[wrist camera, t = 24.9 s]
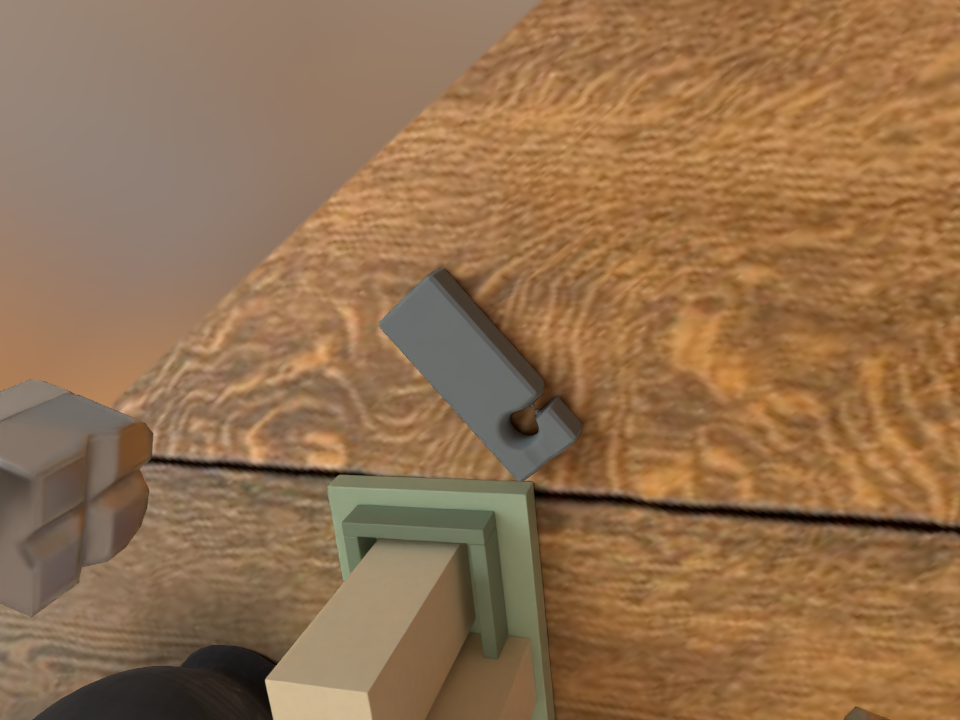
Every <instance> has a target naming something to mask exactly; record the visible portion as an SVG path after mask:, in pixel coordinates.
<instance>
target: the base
mask: <svg viewBox="0 0 960 720" xmlns="http://www.w3.org/2000/svg"><path fill="white" fill-rule="evenodd" d="M327 491H328V497H329V502H330V508H331V514H332V520H333V526H334V531H335V537H336V543H337V549H338V554H339V560H340V566H341V572H342V577H343V582H344V581H345V580H346V579H347V577H348V576H349V575H350V574H351V573H352V571H353V570H354V569H355V568H356V566H357V565H358V564H359V563H360V561H361V560H362V559H363V558H364V556H365V555H366V554H367V553H368V552H369V550H370V549H371V548H372V547H373V545H374V544H375V543H376V542H377V540H378V539H379V538H388V539H403V540H419V541H435V542H451V543H467V549H468V558H469V566H470V575H471V583H472V591H473V600H474V608H475V616H476V619H475V621H474V623H473V625H472V627H471V629H470V631H469V633H468V635H467V637H466V639H465V641H464V643H463V645H462V647H461V649H460V651H459V653H458V655H457V657H456V659H455V661H454V663H453V665H452V667H451V669H450V671H449V673H448V675H447V677H446V679H445V681H444V683H443V685H442V687H441V689H440V691H439V693H438V695H437V697H436V699H435V701H434V703H433V705H432V707H431V709H430V711H429V713H428V715H427V717H426V719H425V720H555V712H554V701H553V690H552V680H551V669H550V658H549V648H548V637H547V626H546V616H545V605H544V594H543V583H542V573H541V562H540V551H539V541H538V530H537V519H536V509H535V498H534V487H533V482H519V481H493V480H466V479H439V478H412V477H385V476H358V475H338V476H337V477H336V478H335V479H334V480H333V481H332V482H331V483H330V484H329V485H328V486H327Z"/></svg>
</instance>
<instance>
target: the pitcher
mask: <svg viewBox="0 0 960 720" xmlns="http://www.w3.org/2000/svg"><path fill="white" fill-rule="evenodd" d="M274 668H275V666H274V665H273V664H272V663H271V662H269V661H268V660H266V659H265V658H263V657H262V656H260V655H259V654H256V653H254V652H251V651H249V650H246V649H243V648H239V647H235V646H226V645H211V646H208V647H205V648H201V649H199V650H198V651H196V652H194V653H193V654H191V655H190V656H189V657H188V659H187V660H186V661H185V662H184V663H183V665H182V666H181V667H174V666H153V667H143V668H137V669H132V670H128V671H124V672H121V673H117V674H114V675H111V676H107V677H105V678H103V679H100V680H98V681H96V682H93V683H91V684H89V685H86V686H84V687H82V688H80V689H78V690H76V691H75V692H73V693H71V694H69V695H67V696H65V697H64V698H62V699H60V700H59V701H57V702H55V703H54V704H53V705H51V706H50V707H49V708H47V709H46V710H45V711H43V712H42V713H40V714H39V715H38V716H36V717H35V718H34V719H33V720H273V716H272V711H271V706H270V702H269V697H268V692H267V687H266V683H265V679H266V678H267V676H268V675H269V674H270V673H271V671H272V670H273V669H274Z"/></svg>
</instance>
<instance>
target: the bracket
mask: <svg viewBox="0 0 960 720" xmlns="http://www.w3.org/2000/svg"><path fill="white" fill-rule="evenodd" d="M379 327H380V328H381V329H382V330H383V331H384V333H385V334H386V335H387V336H388V337H389V338H390V339H391V340H392V341H393V343H394V344H395V345H396V346H397V347H398V348H399V349H400V350H401V351H402V353H403V354H404V355H405V356H406V357H407V358H408V359H409V360H410V362H411V363H412V364H413V365H414V366H415V367H416V368H417V369H418V370H419V372H420V373H421V374H422V375H423V376H424V377H425V378H426V379H427V381H428V382H429V383H430V384H431V385H432V386H433V387H434V388H435V389H436V391H437V392H438V393H439V394H440V395H441V396H442V397H443V398H444V399H445V401H446V402H447V403H448V404H449V405H450V406H451V407H452V408H453V410H454V411H455V412H456V413H457V414H458V415H459V416H460V417H461V418H462V420H463V421H464V422H465V423H466V424H467V425H468V426H469V427H470V428H471V430H472V431H473V432H474V433H475V434H476V435H477V436H478V437H479V439H480V440H481V441H482V442H483V443H484V444H485V445H486V446H487V447H488V449H489V450H490V451H491V452H492V453H493V454H494V455H495V456H496V458H497V459H498V460H499V461H500V462H501V463H502V464H503V465H504V466H505V468H506V469H507V470H508V471H509V472H510V473H511V474H512V475H513V476H514V478H515V479H516V480H517V481H521V482H523V481H525V480H526V479H527V478H529V477H530V476H531V475H533V474H534V473H535V472H537V471H538V470H539V469H540V468H541V467H542V466H544V465H545V464H546V463H547V462H548V461H550V460H551V459H552V458H554V457H556V456H557V455H559V454H561V453H562V452H563V451H565V450H566V449H567V448H569V447H570V446H571V445H573V444H574V443H575V442H576V441H577V439H578V437H579V436H580V433H581V431H582V423H581V422H580V421H579V420H578V418H577V417H576V416H575V415H574V414H573V413H572V412H571V411H570V409H569V408H568V407H567V406H566V405H565V404H564V403H563V402H562V400H561V399H560V398H559V397H558V396H557V397H555V398H553V399H552V400H551V401H550V402H548V403H547V404H546V405H545V406H544V407H543V408H542V409H541V410H539V409H536V410H535V414H536V417H535V420H536V422H537V423H538V426H539V431H538V433H537V434H535V435H531V436H529V435H524V434H521V433H520V432H518V431H517V430H516V429H515V428H514V427H513V426H512V424H511V421H510V415H511V414H512V413H513V412H517V411H521V410H523V409H525V408H526V407H528V406H529V407H531V408H532V407H534V403H533V402H534V401H535V400H536V399H538V398H539V397H540V396H541V395H542V394H543V392H544V380H543V379H542V378H541V377H540V376H539V375H538V373H537V372H536V371H535V370H534V369H533V368H532V367H531V366H530V364H529V363H528V362H527V361H526V360H525V359H524V358H523V357H522V355H521V354H520V353H519V352H518V351H517V350H516V349H515V348H514V346H513V345H512V344H511V343H510V342H509V341H508V340H507V339H506V337H505V336H504V335H503V334H502V333H501V332H500V331H499V330H498V328H497V327H496V326H495V325H494V324H493V323H492V322H491V321H490V320H489V318H488V317H487V316H486V315H485V314H484V313H483V312H482V311H481V309H480V308H479V307H478V306H477V305H476V304H475V303H474V302H473V300H472V299H471V298H470V297H469V296H468V295H467V294H466V293H465V291H464V290H463V289H462V288H461V287H460V286H459V285H458V284H457V282H456V281H455V280H454V279H453V278H452V277H451V276H450V275H449V273H448V272H447V271H446V270H445V269H442V268H439V269H437V270H435V271H433V272H432V273H430V274H428V275H427V276H426V277H425V278H424V279H423V280H422V281H421V282H420V283H419V284H418V285H417V286H416V287H415V288H414V289H413V290H412V291H411V292H410V293H408V294H407V295H406V296H405V297H404V298H403V299H402V300H401V301H400V302H399V303H398V304H397V305H396V306H395V307H394V308H393V309H392V310H391V311H390V312H389V313H388V314H387V315H386V316H385V317H384V318H383V319H382V320H381V321H380V322H379Z"/></svg>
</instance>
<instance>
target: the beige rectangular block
mask: <svg viewBox="0 0 960 720" xmlns="http://www.w3.org/2000/svg"><path fill="white" fill-rule="evenodd" d="M475 619H476V616H475V608H474V600H473V591H472V583H471V575H470V566H469V558H468V549H467V543H451V542H435V541H419V540H403V539H388V538H379V539H378V540H377V542H376V543H375V544H374V545H373V547H372V548H371V549H370V550H369V552H368V553H367V554H366V555H365V556H364V558H363V559H362V560H361V561H360V563H359V564H358V565H357V566H356V568H355V569H354V570H353V571H352V573H351V574H350V575H349V576H348V577H347V579H346V580H345V581H344V582H343V584H342V585H341V586H340V587H339V589H338V590H337V591H336V592H335V594H334V595H333V596H332V597H331V598H330V600H329V601H328V602H327V603H326V605H325V606H324V607H323V608H322V610H321V611H320V612H319V613H318V615H317V616H316V617H315V618H314V620H313V621H312V622H311V623H310V624H309V626H308V627H307V628H306V629H305V631H304V632H303V633H302V634H301V636H300V637H299V638H298V639H297V641H296V642H295V643H294V644H293V645H292V647H291V648H290V649H289V650H288V652H287V653H286V654H285V655H284V657H283V658H282V659H281V660H280V662H279V663H278V664H277V665H276V666H275V668H274V669H273V670H272V671H271V673H270V674H269V675H268V676H267V678H266V679H265V683H266V687H267V692H268V697H269V702H270V706H271V711H272V716H273V720H425V719H426V717H427V715H428V713H429V711H430V709H431V707H432V705H433V703H434V701H435V699H436V697H437V695H438V693H439V691H440V689H441V687H442V685H443V683H444V681H445V679H446V677H447V675H448V673H449V671H450V669H451V667H452V665H453V663H454V661H455V659H456V657H457V655H458V653H459V651H460V649H461V647H462V645H463V643H464V641H465V639H466V637H467V635H468V633H469V631H470V629H471V627H472V625H473V623H474V621H475Z"/></svg>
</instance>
